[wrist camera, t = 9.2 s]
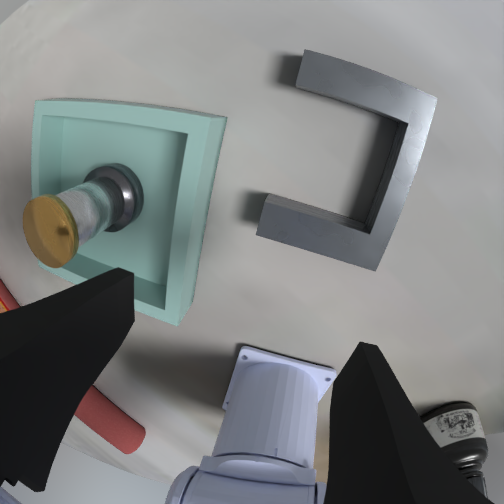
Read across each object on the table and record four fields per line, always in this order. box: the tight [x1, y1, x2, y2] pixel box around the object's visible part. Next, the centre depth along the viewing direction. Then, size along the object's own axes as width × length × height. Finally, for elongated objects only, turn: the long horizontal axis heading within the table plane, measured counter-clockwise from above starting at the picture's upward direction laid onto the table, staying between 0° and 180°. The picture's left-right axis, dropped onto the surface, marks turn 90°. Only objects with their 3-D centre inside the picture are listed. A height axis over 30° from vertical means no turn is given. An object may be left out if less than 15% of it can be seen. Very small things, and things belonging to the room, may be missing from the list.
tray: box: [31, 98, 228, 326], centre depth 18 cm, size 13×13×3 cm
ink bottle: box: [420, 403, 488, 499], centre depth 19 cm, size 10×9×12 cm
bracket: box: [256, 49, 437, 271], centre depth 15 cm, size 10×7×2 cm
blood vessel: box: [0, 280, 146, 454], centre depth 28 cm, size 42×5×5 cm, turn 40°
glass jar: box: [23, 163, 144, 268], centre depth 16 cm, size 4×4×7 cm
